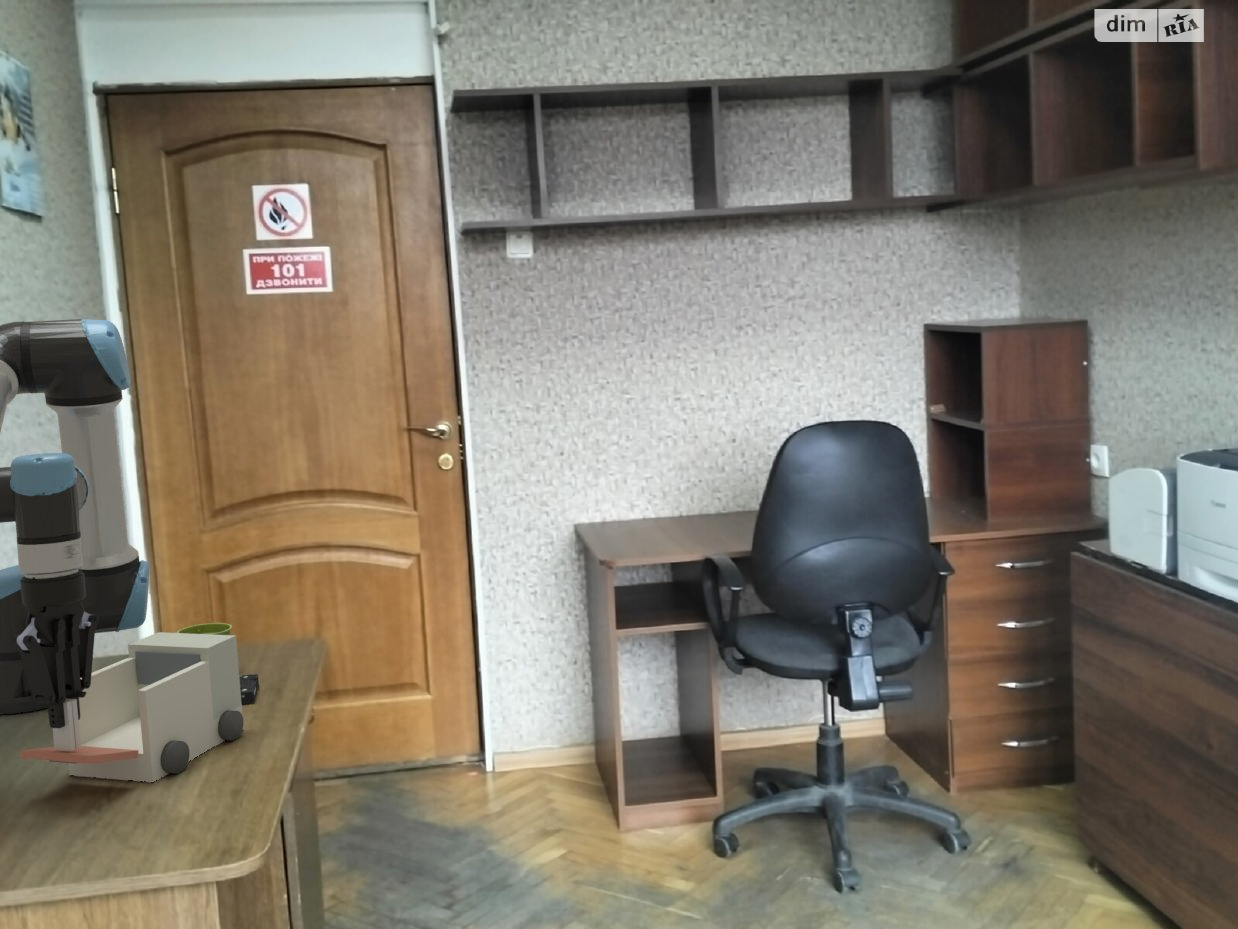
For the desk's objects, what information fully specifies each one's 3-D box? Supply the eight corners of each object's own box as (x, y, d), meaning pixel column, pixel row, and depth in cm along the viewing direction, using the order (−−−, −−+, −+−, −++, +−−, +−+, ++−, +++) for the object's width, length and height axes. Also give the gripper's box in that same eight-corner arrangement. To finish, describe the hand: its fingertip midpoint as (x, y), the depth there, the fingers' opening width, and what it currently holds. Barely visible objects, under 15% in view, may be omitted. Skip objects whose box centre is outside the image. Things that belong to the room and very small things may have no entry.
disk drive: (259, 689, 200) (169, 697, 197) (258, 673, 200) (168, 681, 196) (255, 707, 190) (160, 716, 187) (254, 690, 190) (158, 700, 186)
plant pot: (182, 672, 210) (178, 625, 209) (236, 665, 213) (232, 620, 212) (178, 686, 201) (174, 638, 200) (235, 679, 204) (231, 632, 203)
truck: (60, 774, 161) (50, 671, 160) (159, 724, 181) (151, 632, 180) (162, 783, 157) (152, 677, 155) (251, 730, 177) (243, 635, 175)
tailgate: (69, 754, 159) (19, 760, 151) (70, 745, 159) (20, 750, 151) (137, 760, 156) (90, 766, 148) (138, 750, 156) (91, 755, 148)
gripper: (36, 583, 142) (53, 768, 144) (111, 563, 154) (125, 733, 157) (-12, 582, 144) (5, 764, 146) (66, 562, 156) (80, 730, 159)
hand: (67, 748), depth 151 cm, fingers closed
